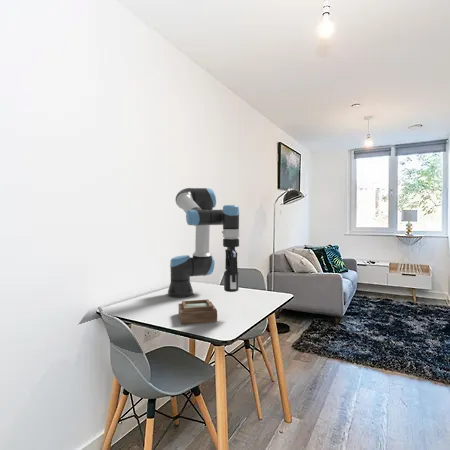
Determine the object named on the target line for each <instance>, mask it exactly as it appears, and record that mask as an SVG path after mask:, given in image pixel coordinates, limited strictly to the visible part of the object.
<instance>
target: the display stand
mask: <svg viewBox="0 0 450 450" xmlns="http://www.w3.org/2000/svg"><path fill="white" fill-rule="evenodd" d="M178 317H179V321H180V324H181V325H182V326H183V325H192V324H203V323H205V324H206V323H216V322H218V310H217V308H216V306H215V305H214V304H213V302H212V301H211V300H210V299H195V300H182V301H181V302H180V303H178Z"/></svg>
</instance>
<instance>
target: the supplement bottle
mask: <svg viewBox="0 0 450 450" xmlns="http://www.w3.org/2000/svg"><path fill="white" fill-rule="evenodd" d="M226 269H227V270H226ZM226 269H225V270H224V272H223V289H224V291H225V292H227V293H235V292H238V291H239V288H240V287H239V286H240V285H239V278H240V277H239V272H238V274H237V275H236V289H230V275H229V274H231V270H230V264H228V265H226Z"/></svg>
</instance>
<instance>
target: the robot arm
mask: <svg viewBox="0 0 450 450" xmlns="http://www.w3.org/2000/svg"><path fill="white" fill-rule="evenodd" d="M175 204H176V205H177V206H178V208H180V210H181V209H182V210H183V212H184V213H185V221H186V224H187V225H188V226H193V227H195V241H194V242H195V244H194V245H195V247H194V248H195V250H194V252H193V253H192V257H190V255H189V254H188V255H187V254H185V255H184V254H183V255H179V256H178V255H177V256H173V257H172V258H171V259H170V265H169V268H170V284H169V287H168V290H167V296H169V297H170V298H185V297H190V296H193V295H194V290H193V287H192V283H191V279H190V277H201V276H202V277H203V276H204V277H205V276H210V275H212V274H213V273H214V269H215V265H216V264H215V258H214V257H213V256H212V253H211V252H210V234H211V233H210V231H211V230H210V228H211V227H210V226H222V231H221V233H222V237H223V239H222V246H223V247H224V248H226V249H225V251H224V252H225V268H224V269H225V271H226V270H227V269H226V265H228V264H230V270H231V274H229V275H230V289H236V275H237V274H238V273H239V270H238V269H239V268H238V251H237V250H236V248H238V247H239V246H240V239H239V238H240V208H239V206H238V205H235V204H226V205H225V204H224V205H223V206H222V209H215V208H216V205H217V198H216V193H215V191H214V190H213V189H212V188H206V187H200V188H199V187H187V188H183V189H181V190H180V191H178V192H177V194H176V196H175Z"/></svg>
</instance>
